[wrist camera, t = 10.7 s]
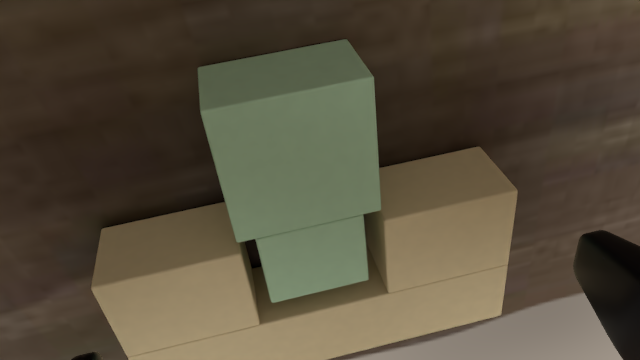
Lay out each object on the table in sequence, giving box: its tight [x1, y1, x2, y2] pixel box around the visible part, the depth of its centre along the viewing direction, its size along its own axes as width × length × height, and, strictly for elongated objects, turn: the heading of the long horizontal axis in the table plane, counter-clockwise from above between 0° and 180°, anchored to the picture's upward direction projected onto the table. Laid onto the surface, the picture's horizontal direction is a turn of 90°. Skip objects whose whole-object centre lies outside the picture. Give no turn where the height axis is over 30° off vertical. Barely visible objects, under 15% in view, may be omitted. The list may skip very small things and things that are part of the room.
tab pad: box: [197, 39, 381, 303], centre depth 15 cm, size 7×4×2 cm, turn 6°
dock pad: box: [91, 147, 518, 360], centre depth 17 cm, size 12×6×2 cm, turn 96°
